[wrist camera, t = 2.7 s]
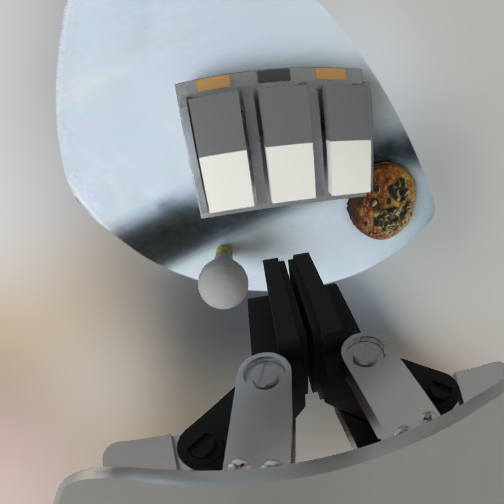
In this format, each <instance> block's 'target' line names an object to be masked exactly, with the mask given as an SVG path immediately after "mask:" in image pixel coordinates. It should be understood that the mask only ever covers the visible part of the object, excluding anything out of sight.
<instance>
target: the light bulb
mask: <svg viewBox="0 0 504 504" xmlns="http://www.w3.org/2000/svg"><path fill="white" fill-rule="evenodd" d="M198 288H199V292H200V294H201V296H202V298H203V299H204V301H205V302H206V303H207V304H209V305H210V306H212V307H215V308H218V309H228V308H232V307H234V306H236V305H238V304H239V303H240V302H241V301H242V300H243V299H244V297H245V295H246V293H247V290H248V278H247V275H246V273H245V271H244V269H243V267H242V266H241V265H240V264H238V263H237V262H235V261H234V260H233V258H232V251H231V249H230V248H229V247H227V246H220V247H218V248H217V250H216V256H215V258H214V260H212V261H211V262H209V263H208V264H206V265H205V266H204V268H203V269H202V271H201V273H200V275H199V279H198Z"/></svg>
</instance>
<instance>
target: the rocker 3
mask: <svg viewBox="0 0 504 504" xmlns="http://www.w3.org/2000/svg"><path fill="white" fill-rule="evenodd" d="M321 88H322V98H323V108H324V119H325V132H326V147H327V166H328V192H329V193H330V194H331V195H332V196H337V195H347V194H356V193H366V192H370V190H371V131H370V110H369V96H368V86H361V85H321Z"/></svg>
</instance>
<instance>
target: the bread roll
mask: <svg viewBox="0 0 504 504" xmlns="http://www.w3.org/2000/svg"><path fill="white" fill-rule="evenodd" d="M415 187H416V186H415V182H414V180H413V178H412V177H411V176H410V172H409V171H408V170H407V169H404V168H402V167H400V166H399V165H397V164H392V163H389V162H381V163H375V164H373V191H370V192H366V196H363V197H353V198H349V201H348V202H347V205H348V206H347V210H348V213H349V216H350V219H351V220H352V222H353V224H354V225H355V226H356V227H357V229H359V230H360V231H361V232H362V233H364V234H365V235H367V236H369V237H371V238H373V239H377V240H378V239H379V240H383V239H388V238H390V237H392V236H395V235H396V234H398V233H399V232H400V231H401V230H402V229H403V228H404V227H405V226H406V225H407V224H408V223H409V220H410V219H411V217H412V212H413V209H414V203H415V200H416V190H415Z"/></svg>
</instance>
